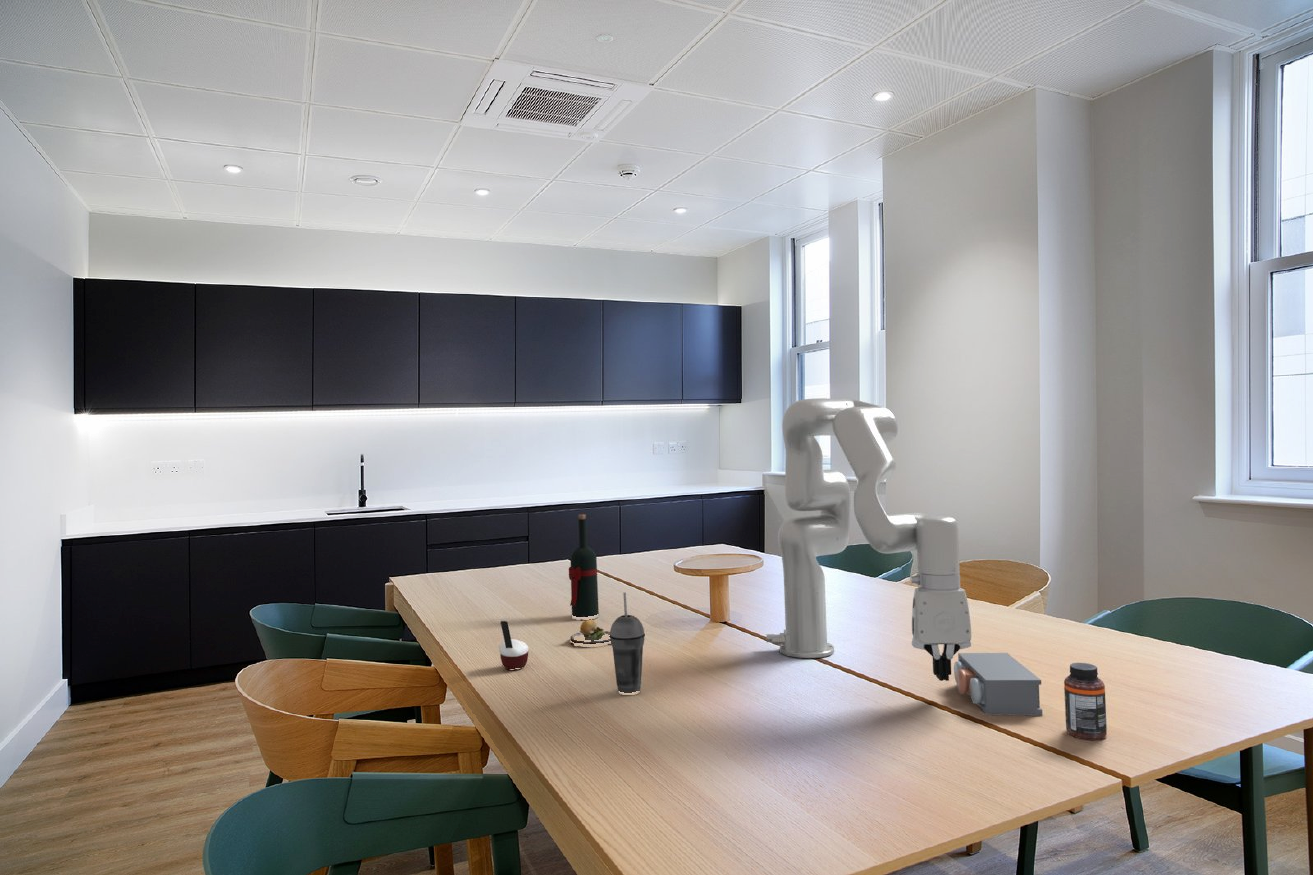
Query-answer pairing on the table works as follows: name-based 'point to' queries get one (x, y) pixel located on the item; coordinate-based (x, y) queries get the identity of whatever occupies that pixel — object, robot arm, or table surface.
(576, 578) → the wine bottle
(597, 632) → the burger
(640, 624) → the beverage cup
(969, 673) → the plug terracotta
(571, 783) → the table surface
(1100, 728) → the supplement bottle
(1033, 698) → the socket block
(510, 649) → the cocoa
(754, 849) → the table surface
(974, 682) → the plug near
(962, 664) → the plug far
